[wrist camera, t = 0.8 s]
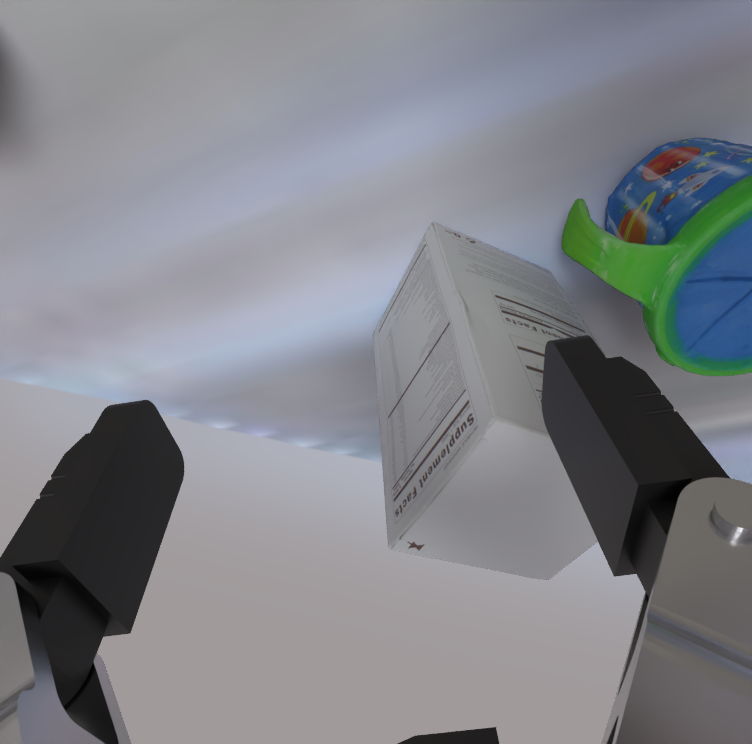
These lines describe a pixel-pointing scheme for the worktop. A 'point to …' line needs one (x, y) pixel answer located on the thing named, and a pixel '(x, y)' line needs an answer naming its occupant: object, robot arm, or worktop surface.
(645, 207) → the snack cup
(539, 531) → the supplement box
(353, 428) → the worktop surface
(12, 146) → the worktop surface
